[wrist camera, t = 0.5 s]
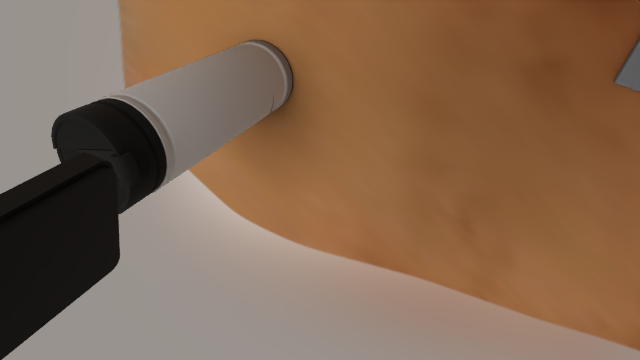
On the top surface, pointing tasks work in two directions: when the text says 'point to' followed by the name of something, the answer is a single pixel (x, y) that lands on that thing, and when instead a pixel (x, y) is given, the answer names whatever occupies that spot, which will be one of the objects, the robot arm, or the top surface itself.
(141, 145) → the travel mug
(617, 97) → the top surface
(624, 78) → the mat
